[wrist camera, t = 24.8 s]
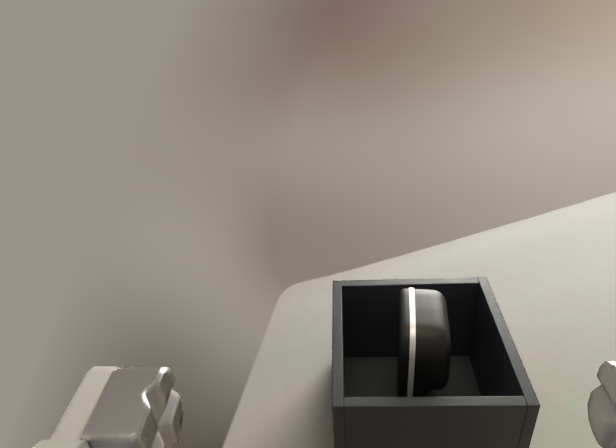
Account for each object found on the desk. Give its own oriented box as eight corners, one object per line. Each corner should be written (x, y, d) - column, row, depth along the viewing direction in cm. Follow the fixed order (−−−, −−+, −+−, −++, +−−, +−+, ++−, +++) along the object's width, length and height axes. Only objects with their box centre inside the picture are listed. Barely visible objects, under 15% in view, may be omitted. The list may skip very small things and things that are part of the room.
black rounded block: (443, 444, 40) (456, 342, 34) (396, 440, 41) (400, 339, 35) (438, 377, 46) (448, 279, 40) (396, 374, 47) (400, 277, 41)
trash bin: (337, 489, 38) (331, 406, 33) (336, 357, 50) (332, 280, 45) (517, 491, 37) (540, 405, 32) (474, 355, 49) (486, 276, 44)
